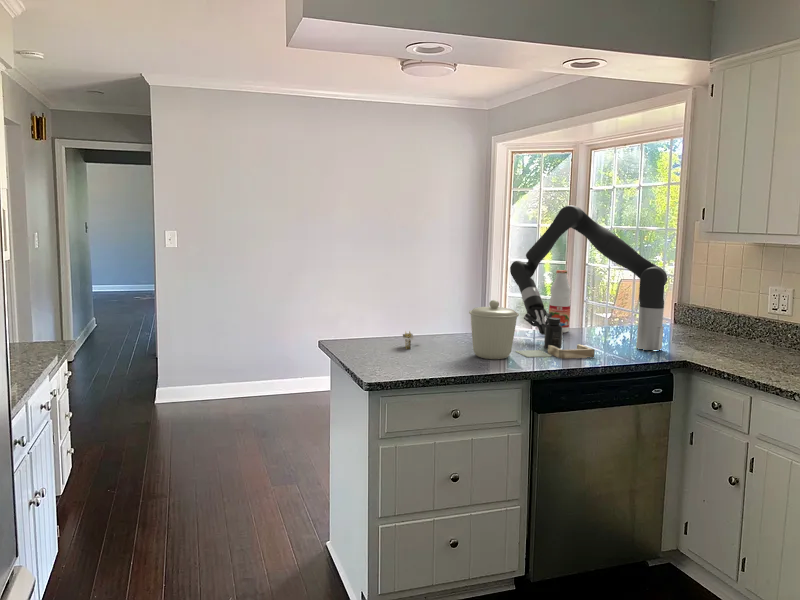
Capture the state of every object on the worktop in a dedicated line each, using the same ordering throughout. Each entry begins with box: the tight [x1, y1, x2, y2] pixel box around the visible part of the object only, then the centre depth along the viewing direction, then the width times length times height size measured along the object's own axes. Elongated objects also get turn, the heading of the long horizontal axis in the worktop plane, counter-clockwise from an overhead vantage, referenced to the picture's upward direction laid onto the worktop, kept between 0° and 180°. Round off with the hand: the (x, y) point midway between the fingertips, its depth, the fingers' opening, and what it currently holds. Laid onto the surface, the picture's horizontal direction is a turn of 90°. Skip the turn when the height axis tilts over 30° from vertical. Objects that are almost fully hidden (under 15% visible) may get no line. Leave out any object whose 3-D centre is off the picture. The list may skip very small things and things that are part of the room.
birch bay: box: [547, 344, 596, 360], centre depth 252 cm, size 10×14×3 cm
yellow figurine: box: [402, 330, 415, 350], centre depth 258 cm, size 12×18×7 cm, turn 2°
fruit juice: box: [548, 269, 572, 334], centre depth 304 cm, size 9×9×28 cm
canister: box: [468, 299, 520, 360], centre depth 244 cm, size 18×18×21 cm
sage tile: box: [515, 349, 553, 358], centre depth 252 cm, size 10×10×1 cm
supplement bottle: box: [543, 318, 563, 350], centre depth 265 cm, size 7×7×12 cm
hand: (544, 333), depth 272 cm, fingers closed
